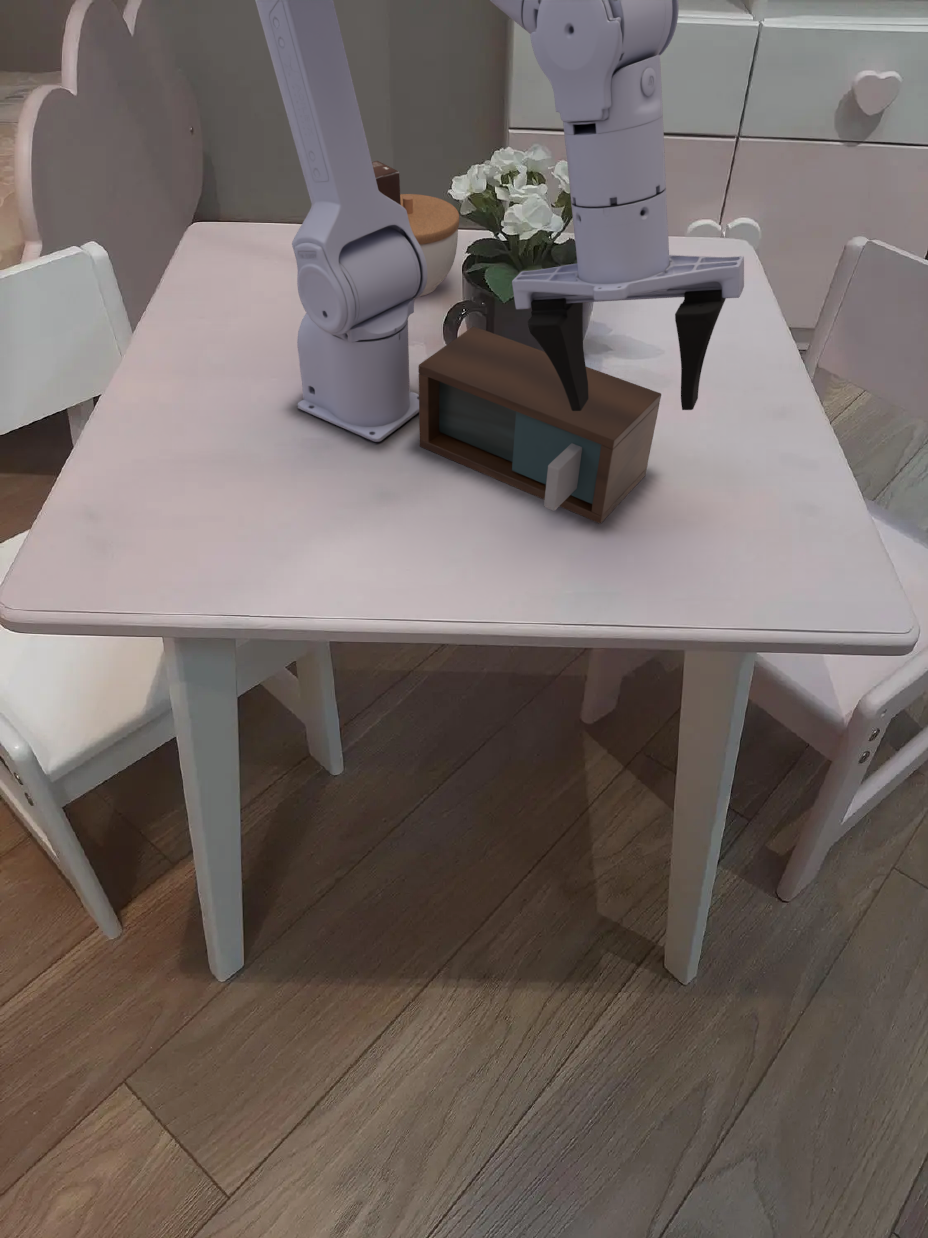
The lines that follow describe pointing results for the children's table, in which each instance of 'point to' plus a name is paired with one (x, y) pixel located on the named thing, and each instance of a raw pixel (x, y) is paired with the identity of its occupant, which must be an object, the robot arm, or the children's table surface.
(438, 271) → the white lidded jar
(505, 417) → the cabinet
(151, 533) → the children's table surface
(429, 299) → the children's table surface
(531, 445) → the glass door
